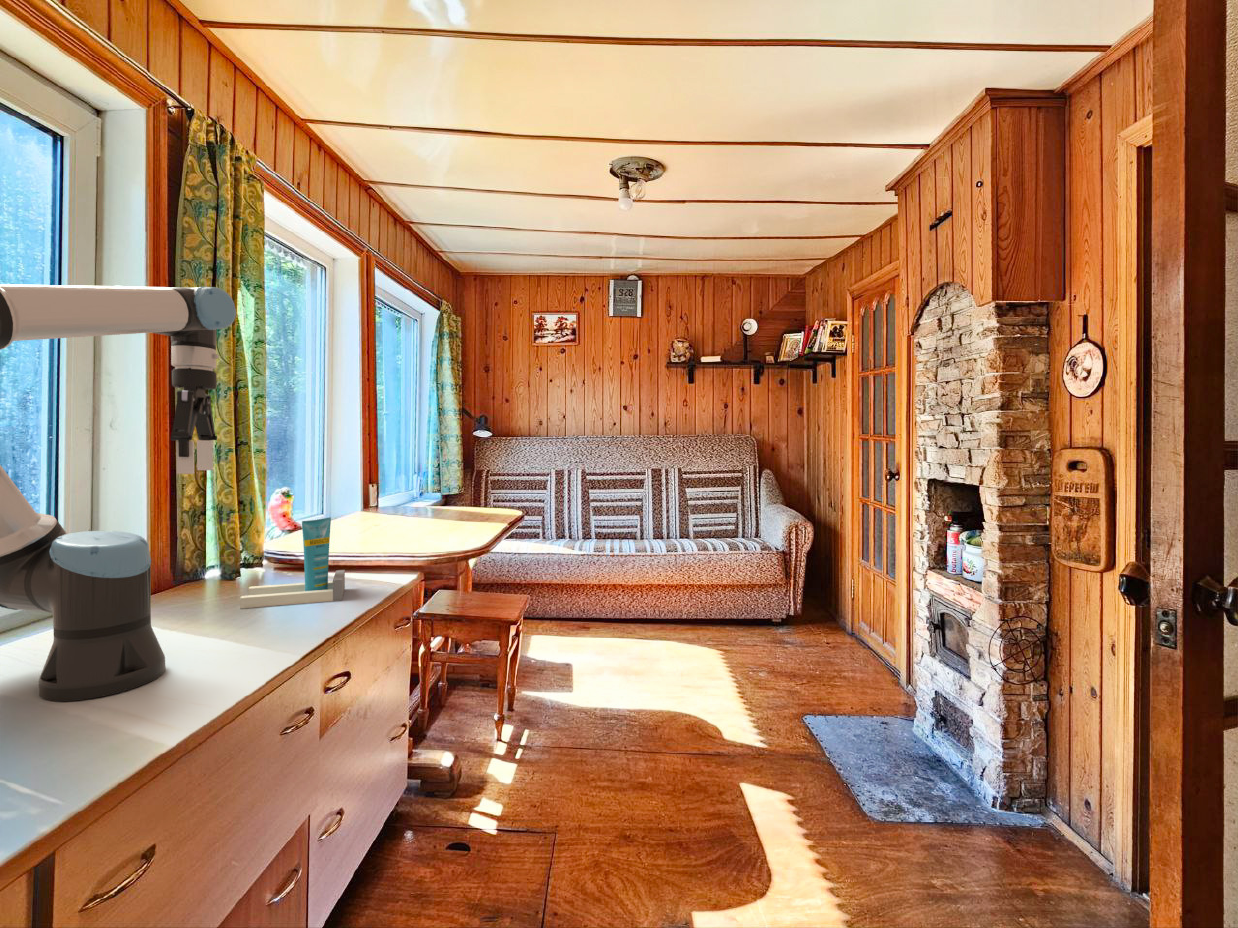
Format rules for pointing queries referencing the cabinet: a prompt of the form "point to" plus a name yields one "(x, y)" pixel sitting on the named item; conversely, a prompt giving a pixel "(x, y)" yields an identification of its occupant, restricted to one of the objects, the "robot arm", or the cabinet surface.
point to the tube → (316, 553)
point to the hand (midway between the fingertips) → (195, 472)
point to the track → (293, 593)
